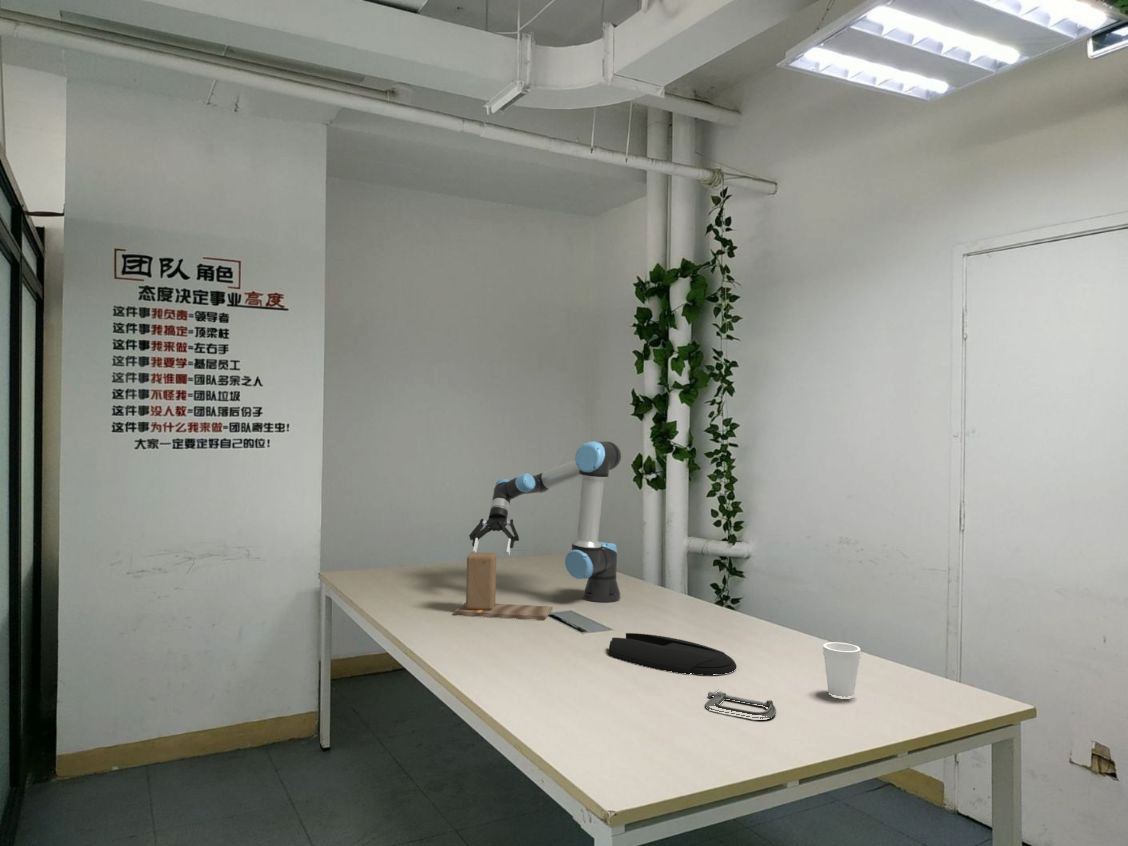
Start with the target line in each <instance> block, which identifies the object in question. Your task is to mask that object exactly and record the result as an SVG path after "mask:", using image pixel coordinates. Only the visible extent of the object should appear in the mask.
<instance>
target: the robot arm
mask: <svg viewBox="0 0 1128 846" xmlns="http://www.w3.org/2000/svg"><path fill="white" fill-rule="evenodd" d="M621 458H622V452H621V449H620V447H619V446H618V445H617V444H615V443H614V442H612V441H607V440H606V441H593V440H592V441H588V442H584V443H583V444H581V445H580V446H579V447H578V449H577V450H576V453H575V460H572V461H569V462H567V463H564V464H562V465H559V466H556V467H553V468H551V469H548V470H546V471H544V472H541V473H538V474H535V475H532V474H529V473H527V472H526V473H525V472H524V473H523V474H519V475H518V476H516V477H514V478H512V479H510V480H509V479H506V478H503V479H502V478H500V479H499V480H497V481H496V483H495V486H494V488H493V494H492V499H491V504H490V510H489V513H488V514H489V515H488V519H487V520H484V519H483V518H481V519H480V520H479V523H478V524H477V525H476V526H475V528H474V529H473V530H472V531H471V532H470V534H469V535H468V536H469V539H470V541H472V543H471V544H472V545H471V546H472V549H473V550H472V552H478V547H479V540H480V539H481V538H483V537H484V536H485V535H486V534H487V533H490V532H491V531H492V532H495V531H497V532H500V531H502V532H503V534H505V535H506V537H507V538H508V542H507V547H506V555H507V557H509V556H510V555H511V549H513V548H514V545H515V543H516V542H519V541H520V537H519V533H518V532H517V530H516V527H515V524H514V523H515V522H514V520H513V518H511V519H510V520H508V515H509V510H510V505H511V500H513V499H515V498H517V497H519V496H521V495H529V494H537V493H538V494H539V493H540V494H542V493H545V492H547V491H549V490H550V489H553V488H555V487H557V486H560V485H563V484H565V483H569V482H571V481H574V480H576V479H579V478H581V487H580V488H581V489H580V501H579V511H578V520H577V529H576V530H577V531H576V538H575V539H574V540H573V541H572V542H571V550H570V551H569V552H567V554H566V555H565V559H564V566H565V568H566V571H567V572H568V573H569V575H570V576H571V577H572V578H575V579H578V580H584V579H585V580H586V579H587V581H586V584H585V586H584V587H585V588H584V590H583V594H582V595H583V596H582V597H583V599H584V600H586V601H589V602H594V601H595V602H597V603H612V602H613V601H614V602H618V601H620V600H621V592H620V589H619V588H620V587H619V584H618V582H617V581H618V580H617V565H618V563H617V562H618V548H617V547H618V546H617V545H616V544H615V543H613V542H612V543H611V542H603V541H599V533H600V526H601V525H600V524H601V523H600V522H601V514H602V513H601V512H602V504H603V494H604V484H605V481H606V480H607V479H609V474H610V473H609V472H610V471H611V470H613V469H614V470H615V468H617V467H618V466H619V464H620V463H621V460H622V459H621ZM506 526H508V527H510V529H511V531H512V533H511V531H509V529H508V528H507V527H506ZM619 599H620V600H619ZM617 600H618V601H617Z"/></svg>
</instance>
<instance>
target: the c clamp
mask: <svg viewBox="0 0 1128 846" xmlns="http://www.w3.org/2000/svg"><path fill="white" fill-rule="evenodd" d="M718 690H719V689H717V690H715V691H710V690H709V691H708V693H707V697H708V696H709V697H712V696H714V697H713V698H710V699H708V700H707V701H706V702H705V704H704V707H705V706H706V707H707V708H708V709H711V710H715V709H712V708H710V707H709V706H716V707H718V708H722V709H726V710H731V712H732V711H736V712H742V713H747V714H752V715H762V716H765V717H760V719H761V718H762V719H763V718H771V717H773V716H774V715H775V714H776V715H777V708H776V705H774V701H773V700H772V699H769V700H766V701H764V702H763V701H760V700H759V701H758V700H754V699H749V698H745V697H738V696H734V695H729V694H727V693H726V692H722V691H720V692H717V691H718ZM716 692H717V693H716ZM709 697H708V698H709ZM724 699H730V700H735V701H740V702H745V703H750V704H757V705H763V706H765V707H768V709H767V710H764V711H751V710H747V709H741V708H736V707H730V706H725V705H722V704H720V703H721V702H722V701H723V700H724ZM724 701H725V700H724ZM724 701H723V702H724ZM723 702H722V703H723ZM714 704H715V705H714ZM719 704H720V705H719ZM706 707H705V708H706ZM715 711H719V710H715ZM719 712H724V711H719ZM725 713H729V712H725ZM731 714H735V713H731ZM736 715H740V714H736ZM776 715H775V716H776ZM741 716H745V715H741ZM766 716H767V717H766ZM775 716H774V717H775ZM746 717H750V716H746ZM774 717H773V718H774ZM752 718H759V717H752Z"/></svg>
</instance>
